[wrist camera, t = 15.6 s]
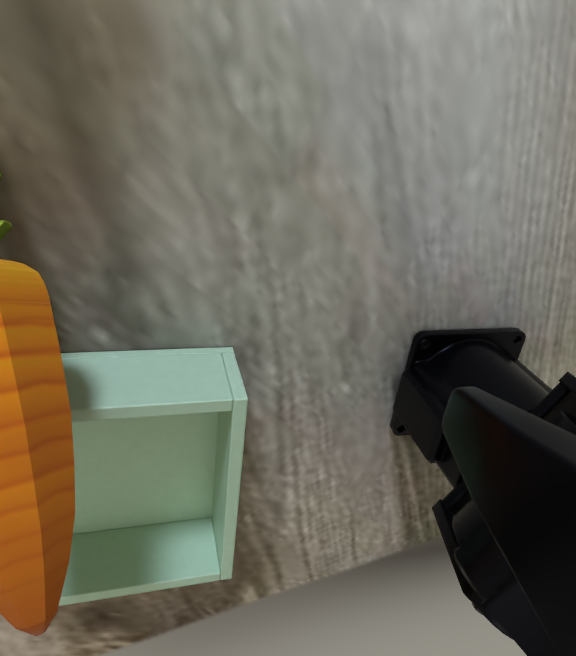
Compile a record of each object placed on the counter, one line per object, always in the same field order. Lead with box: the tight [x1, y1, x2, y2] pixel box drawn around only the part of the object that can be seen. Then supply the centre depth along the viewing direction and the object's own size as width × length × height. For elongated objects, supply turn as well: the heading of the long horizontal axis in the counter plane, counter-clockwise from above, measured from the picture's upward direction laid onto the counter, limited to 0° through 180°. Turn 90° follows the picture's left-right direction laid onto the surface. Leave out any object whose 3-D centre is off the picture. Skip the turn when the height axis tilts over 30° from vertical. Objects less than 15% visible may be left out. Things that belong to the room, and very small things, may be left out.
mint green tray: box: [0, 347, 248, 615], centre depth 23 cm, size 11×11×4 cm
